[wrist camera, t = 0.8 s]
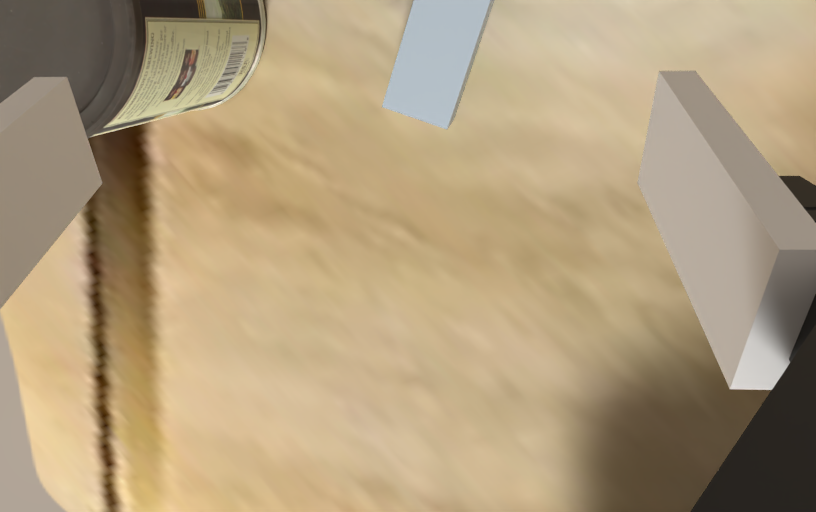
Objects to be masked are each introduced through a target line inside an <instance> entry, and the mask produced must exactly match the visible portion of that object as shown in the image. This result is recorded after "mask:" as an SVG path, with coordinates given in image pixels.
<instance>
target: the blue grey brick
mask: <svg viewBox="0 0 816 512" xmlns="http://www.w3.org/2000/svg"><path fill="white" fill-rule="evenodd" d="M493 2H494V0H414V1H413V5H412V8H411V11H410V15H409V18H408V21H407V25H406V28H405V32H404V35H403V38H402V42H401V45H400V48H399V52H398V55H397V58H396V62H395V65H394V68H393V72H392V75H391V78H390V82H389V85H388V88H387V92H386V95H385V99H384V102H383V105H382V107H383V108H386V109H389V110H392V111H395V112H398V113H401V114H404V115H407V116H409V117H412V118H415V119H418V120H421V121H424V122H427V123H430V124H433V125H436V126H438V127H441V128H444V129H448V128H449V126H450V125H451V123H452V122H453V120H454V118H455V115H456V112H457V109H458V106H459V103H460V100H461V97H462V94H463V91H464V88H465V85H466V82H467V79H468V76H469V73H470V71H471V68H472V65H473V62H474V59H475V56H476V53H477V50H478V47H479V44H480V41H481V38H482V35H483V32H484V29H485V26H486V23H487V20H488V17H489V14H490V11H491V8H492V5H493Z"/></svg>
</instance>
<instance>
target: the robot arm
mask: <svg viewBox="0 0 816 512" xmlns="http://www.w3.org/2000/svg"><path fill="white" fill-rule="evenodd" d="M101 184H102V181H101V178H100V175H99V172H98V169H97V166H96V163H95V160H94V157H93V154H92V151H91V148H90V145H89V142H88V139H87V135H86V132H85V129H84V126H83V123H82V120H81V117H80V114H79V111H78V108H77V105H76V102H75V99H74V96H73V93H72V90H71V87H70V84H69V81H68V78H67V77H34V78H32V79H31V80H30V81H29V82H27V83H26V84H25V85H23V86H22V87H21V88H19V89H18V90H17V91H16V92H14V93H13V94H12V95H10V96H9V97H8V98H7V99H5V100H4V101H3V102H1V103H0V309H1V308H2V306H3V305H4V304H5V303H6V301H7V300H8V299H9V298H10V296H11V295H12V294H13V293H14V292H15V290H16V289H17V288H18V287H19V285H20V284H21V283H22V282H23V280H24V279H25V278H26V277H27V276H28V274H29V273H30V272H31V271H32V269H33V268H34V267H35V266H36V264H37V263H38V262H39V261H40V259H41V258H42V257H43V256H44V255H45V253H46V252H47V251H48V250H49V248H50V247H51V246H52V245H53V243H54V242H55V241H56V240H57V239H58V237H59V236H60V235H61V234H62V232H63V231H64V230H65V229H66V227H67V226H68V225H69V224H70V223H71V221H72V220H73V219H74V218H75V216H76V215H77V214H78V213H79V211H80V210H81V209H82V208H83V206H84V205H85V204H86V203H87V202H88V200H89V199H90V198H91V197H92V195H93V194H94V193H95V192H96V190H97V189H98V188H99V187H100V186H101ZM638 185H639V187H640V189H641V192H642V194H643V196H644V198H645V201H646V203H647V205H648V207H649V210H650V212H651V214H652V216H653V218H654V221H655V223H656V225H657V227H658V230H659V232H660V234H661V236H662V239H663V241H664V243H665V245H666V248H667V250H668V252H669V254H670V257H671V259H672V261H673V263H674V265H675V268H676V270H677V272H678V274H679V277H680V279H681V281H682V283H683V286H684V288H685V290H686V292H687V295H688V297H689V299H690V301H691V304H692V306H693V308H694V310H695V312H696V315H697V317H698V319H699V321H700V324H701V326H702V328H703V330H704V333H705V335H706V337H707V339H708V342H709V344H710V346H711V348H712V351H713V353H714V355H715V357H716V359H717V362H718V364H719V366H720V368H721V371H722V373H723V375H724V377H725V380H726V382H727V384H728V386H729V389H742V390H772V391H771V392H770V394H769V395H768V397H767V398H766V400H765V401H764V403H763V404H762V406H761V407H760V409H759V410H758V412H757V413H756V415H755V416H754V418H753V419H752V420H751V422H750V423H749V425H748V426H747V428H746V429H745V431H744V432H743V434H742V435H741V437H740V438H739V440H738V441H737V443H736V444H735V446H734V447H733V449H732V450H731V452H730V453H729V455H728V456H727V458H726V459H725V461H724V462H723V464H722V465H721V467H720V468H719V470H718V471H717V473H716V474H715V476H714V477H713V479H712V480H711V482H710V483H709V485H708V486H707V488H706V489H705V491H704V492H703V494H702V495H701V497H700V498H699V500H698V501H697V503H696V504H695V506H694V507H693V509H692V510H691V512H816V186H815V185H814V184H812V183H810V182H809V181H807V180H805V179H804V178H802V177H800V176H778V175H777V173H776V172H775V171H774V170H773V168H772V167H771V166H770V164H769V163H768V162H767V161H766V159H765V158H764V157H763V156H762V154H761V153H760V152H759V151H758V149H757V148H756V147H755V146H754V144H753V143H752V142H751V140H750V139H749V138H748V137H747V135H746V134H745V133H744V132H743V130H742V129H741V128H740V127H739V125H738V124H737V123H736V122H735V120H734V119H733V118H732V116H731V115H730V114H729V113H728V111H727V110H726V109H725V108H724V106H723V105H722V104H721V103H720V101H719V100H718V99H717V98H716V96H715V95H714V94H713V92H712V91H711V90H710V89H709V87H708V86H707V85H706V84H705V82H704V81H703V80H702V79H701V77H700V76H699V75H698V74H697V72H696V71H659V74H658V79H657V84H656V90H655V95H654V100H653V105H652V110H651V115H650V121H649V126H648V131H647V136H646V141H645V147H644V152H643V157H642V162H641V167H640V173H639V178H638Z"/></svg>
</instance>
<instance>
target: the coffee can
mask: <svg viewBox="0 0 816 512" xmlns="http://www.w3.org/2000/svg"><path fill="white" fill-rule="evenodd" d="M265 31H266V17H265V10H264V3H263V0H0V103H1V102H3V101H4V100H5V99H7V98H8V97H9V96H10V95H12V94H13V93H14V92H16V91H17V90H18V89H19V88H21V87H22V86H23V85H25V84H26V83H27V82H29V81H30V80H31V79H32V78H34V77H67V78H68V81H69V84H70V87H71V90H72V93H73V96H74V99H75V102H76V105H77V108H78V111H79V114H80V117H81V120H82V123H83V126H84V129H85V132H86V135H87V139H88V138H90V137H92V136H96V135H100V134H104V133H108V132H112V131H116V130H120V129H124V128H127V127H131V126H136V125H140V124H143V123H147V122H151V121H156V120H159V119H163V118H166V117H170V116H174V115H178V114H181V113H185V112H189V111H193V110H203V109H208V108H212V107H215V106H217V105H219V104H222V103H224V102H225V101H227V100H229V99H230V98H232V97H233V96H234V95H236V94H237V93H238V92H239V91H240V90H241V89H243V87H244V86H245V85H246V83H247V82H248V81H249V79H250V78H251V76H252V75H253V73H254V71H255V69H256V67H257V65H258V63H259V61H260V58H261V54H262V51H263V47H264V41H265Z"/></svg>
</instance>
